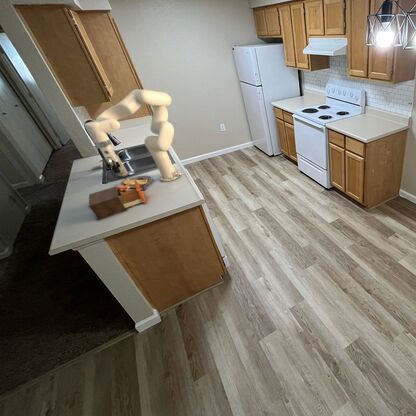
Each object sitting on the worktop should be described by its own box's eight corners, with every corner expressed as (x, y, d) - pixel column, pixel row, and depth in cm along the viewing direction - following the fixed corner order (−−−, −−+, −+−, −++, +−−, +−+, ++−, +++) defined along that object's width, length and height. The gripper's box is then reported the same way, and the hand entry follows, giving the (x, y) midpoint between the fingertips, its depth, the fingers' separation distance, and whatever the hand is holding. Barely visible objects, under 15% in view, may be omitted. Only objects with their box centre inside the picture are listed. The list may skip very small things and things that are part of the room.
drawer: (147, 190, 180) (141, 178, 175) (151, 201, 169) (144, 188, 164) (119, 200, 173) (111, 187, 167) (121, 211, 162) (112, 198, 156)
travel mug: (125, 177, 201) (111, 152, 189) (117, 177, 201) (102, 153, 189) (130, 173, 206) (117, 149, 194) (122, 173, 206) (108, 149, 194)
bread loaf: (139, 195, 173) (134, 187, 170) (140, 198, 170) (135, 190, 167) (125, 200, 170) (120, 192, 166) (126, 203, 167) (121, 195, 163)
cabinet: (124, 199, 174) (116, 186, 168) (126, 210, 163) (117, 196, 157) (98, 207, 168) (89, 194, 162) (98, 219, 157) (88, 206, 151)
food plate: (105, 195, 180) (102, 191, 178) (130, 178, 199) (127, 174, 196) (137, 196, 176) (135, 191, 174) (159, 178, 195) (157, 174, 193)
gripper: (110, 146, 149) (125, 173, 159) (111, 138, 161) (124, 163, 171) (94, 149, 146) (110, 177, 155) (96, 141, 158) (110, 167, 168)
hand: (117, 170), depth 163 cm, fingers open, 9 cm apart
